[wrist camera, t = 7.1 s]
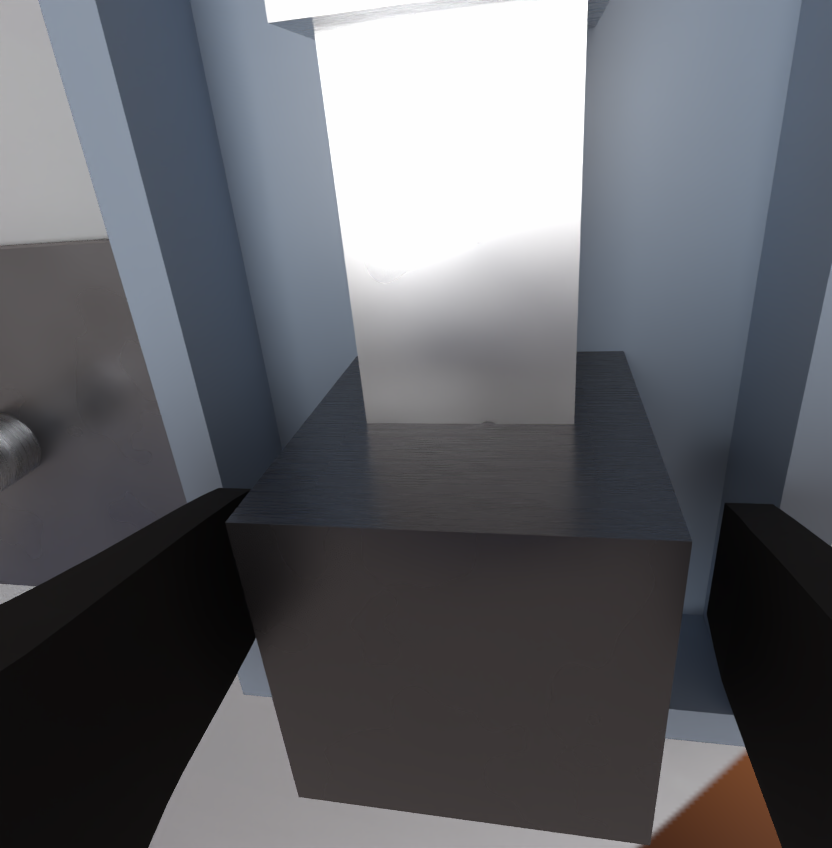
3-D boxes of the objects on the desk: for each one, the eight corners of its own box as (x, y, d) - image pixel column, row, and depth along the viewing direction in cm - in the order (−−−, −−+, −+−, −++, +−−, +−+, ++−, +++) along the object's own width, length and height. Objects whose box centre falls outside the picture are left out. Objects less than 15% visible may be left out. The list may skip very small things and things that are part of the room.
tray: (731, 628, 14) (776, 749, 11) (293, 599, 16) (243, 694, 13) (925, -390, 7) (1163, -709, 4) (114, -202, 9) (-61, -336, 6)
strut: (608, 570, 13) (650, 845, 8) (384, 559, 14) (298, 797, 9) (651, -67, 8) (817, -349, 3) (307, -15, 9) (37, -173, 4)
